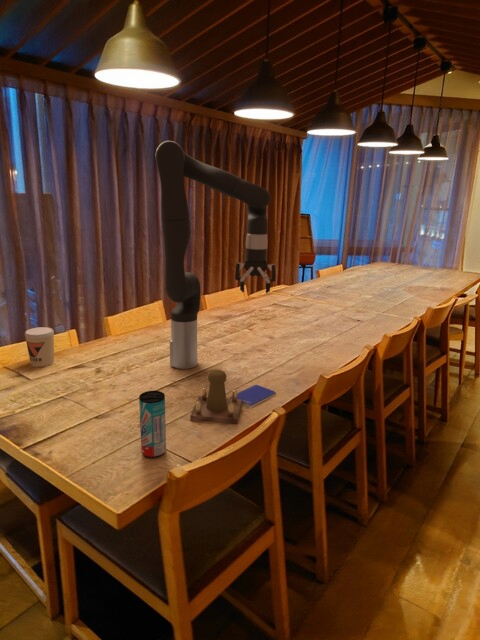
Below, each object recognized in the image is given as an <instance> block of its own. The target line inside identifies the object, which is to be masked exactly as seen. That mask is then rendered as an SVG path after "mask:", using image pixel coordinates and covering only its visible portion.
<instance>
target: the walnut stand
mask: <svg viewBox="0 0 480 640" xmlns="http://www.w3.org/2000/svg"><path fill="white" fill-rule="evenodd" d="M237 393H238V389H236V388H234V389H231V396H232V399H230V397H229V398H228V397H226V400H227V409H226V410H224V411H221V412H212V411H209V410H208V409H207V408H206V405H207V399H208V388H207V387H205V386H203V387H201V396H199V395H198V397H197V399H196V401H195V403H194V406H193V408H192V411H191V414H190V415H189V416H190V421H192V422H193V421H194V422H204V423H205V422H207V423H219V424H234V425H238V422H239V421H238V420H239V417H240V414H241V413H240V412H241V408H242V405H243V404H242V399H237Z"/></svg>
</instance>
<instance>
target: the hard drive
mask: <svg viewBox="0 0 480 640" xmlns="http://www.w3.org/2000/svg"><path fill="white" fill-rule="evenodd" d="M276 395H277V393H276V391H274V390H272V389H269V388H267V387H264V386H262V385H259V384H254V385H252V386H249V387H248V388H245V389H243V390H241V391H238V392H237V399H242V404H241V405H243V406H245V407H247V408H253V407H255V406H257V405H259V404H261V403H263V402H264V401H267V400H269V399H270V398H272V397H273V396H276ZM229 399H232V395H231V396H229Z"/></svg>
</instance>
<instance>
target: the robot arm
mask: <svg viewBox="0 0 480 640" xmlns="http://www.w3.org/2000/svg"><path fill="white" fill-rule="evenodd" d="M155 162H156V165H157V170H158V174H159V180H160V188H161V189H160V190H161V195H160V196H161V197H160V198H161V199H160V200H161V201H160V212H161V215H160V216H161V227H162V228H161V229H162V235H163V236H162V237H163V244H164V245H163V247H164V248H163V249H164V259H165V260H164V261H165V263H164V266H165V267H164V268H165V271H164V272H165V274H164V281H165V283H164V284H165V291H166V295H167V297H168V298H169V299H170V301H172V302H173V303H176V304H175V306H174V307H173V309H171V312H170V339H169V366H170V367H174V368H176V369H181V370H187V369H194V368H195V367H196V366H198V315H199V311H200V305H201V284H200V283H201V282H200V280H199V278H198V277H197V274H195V273H193V272H191V271H189V272H188V271H187V272H186V271H185V256H186V253H187V249H188V247H189V243H190V240H191V233H192V230H191V218H190V209H189V204H188V200H187V196H186V189H185V178H188V179H190V180H193V181H195V182H198V183H199V184H202V185H203V186H207V187H208V188H210V189H212V190H214V191H216V192H218V193H221V194H223V195H224V196H227V197H229V198H233V199H235V200H238V201H240V202H242V203H244V204H246V209H247V211H246V212H247V223H246V224H247V225H246V239H245V261H244V263H242V262H239V261H238V262H237V263H236V264H235V273H234V274H235V276H234V280H236V281H239V291H241V293H245V282H246V281H245V280H246V279H247V277H248V276H251V277H261V276H262V278H263V279H264V280H265V281H266V283H265V294H269V292H270V291H271V283H274V282H275V281H277V280H276V279H277V278H276V277H277V275H276V274H277V273H276V272H277V271H276V269H277V268H276V263H272V264H268V247H269V245H268V244H269V243H268V242H269V241H268V228H269V227H268V226H269V225H268V224H269V223H268V222H269V221H268V219H267V207H268V206H269V204H270V201H271V195H270V192H269V191H268V190H267V189H266V188H265V187H263V186H260V185H257V184H255V183H253V182H249V181H247V180H245V179H244V178H242V177H240V176H237V175H236V174H233V173H231V172H229V171H227V170H224V169H221V168H219V167H216V166H213V165H210V164H207V163H205V162H202V161H200V160H197V159H195V158H193V157H191V156H190V155H188V153H185V151H184V149H183V147H182V146H181V145H180V144H179V143H177V142H176V141H172V140H165V141H163V142H161V143H160V144H159V145H158V147H157V148H156V151H155ZM242 269H245V273H244V274H243V275H242V276H240V270H242ZM267 269H269V271H271V277H269V276H268V274H267V272H266V271H267Z"/></svg>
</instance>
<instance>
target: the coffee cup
mask: <svg viewBox="0 0 480 640" xmlns="http://www.w3.org/2000/svg"><path fill="white" fill-rule="evenodd" d="M54 331H55V330H54V329H53V328H52V327H47V326H46V327H44V326H41V327H38V326H37V327H33V328H29V329H27V330H25V332H24V337H25V342H26V347H27V351H28V352H27V353H28V358H29V363H30V365H31V366H32V367H34V368H35V367H36V368H41V367H43V368H44V367H48V366H51V365H53V364H54V363H55V339H54V337H55V334H54V333H55V332H54Z"/></svg>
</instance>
